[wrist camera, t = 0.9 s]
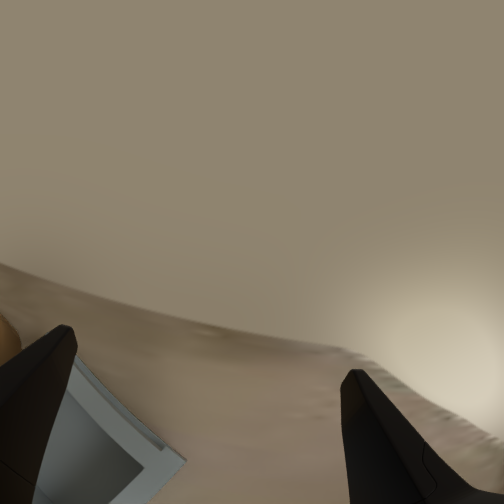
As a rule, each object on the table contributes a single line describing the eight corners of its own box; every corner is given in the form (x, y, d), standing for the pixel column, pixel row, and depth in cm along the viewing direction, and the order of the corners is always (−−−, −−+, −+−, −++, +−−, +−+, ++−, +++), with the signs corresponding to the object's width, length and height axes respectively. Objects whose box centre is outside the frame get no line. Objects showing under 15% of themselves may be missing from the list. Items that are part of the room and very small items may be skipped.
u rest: (187, 460, 18) (186, 461, 14) (89, 554, 11) (66, 573, 6) (76, 354, 21) (52, 327, 17) (-11, 440, 14) (-48, 429, 9)
